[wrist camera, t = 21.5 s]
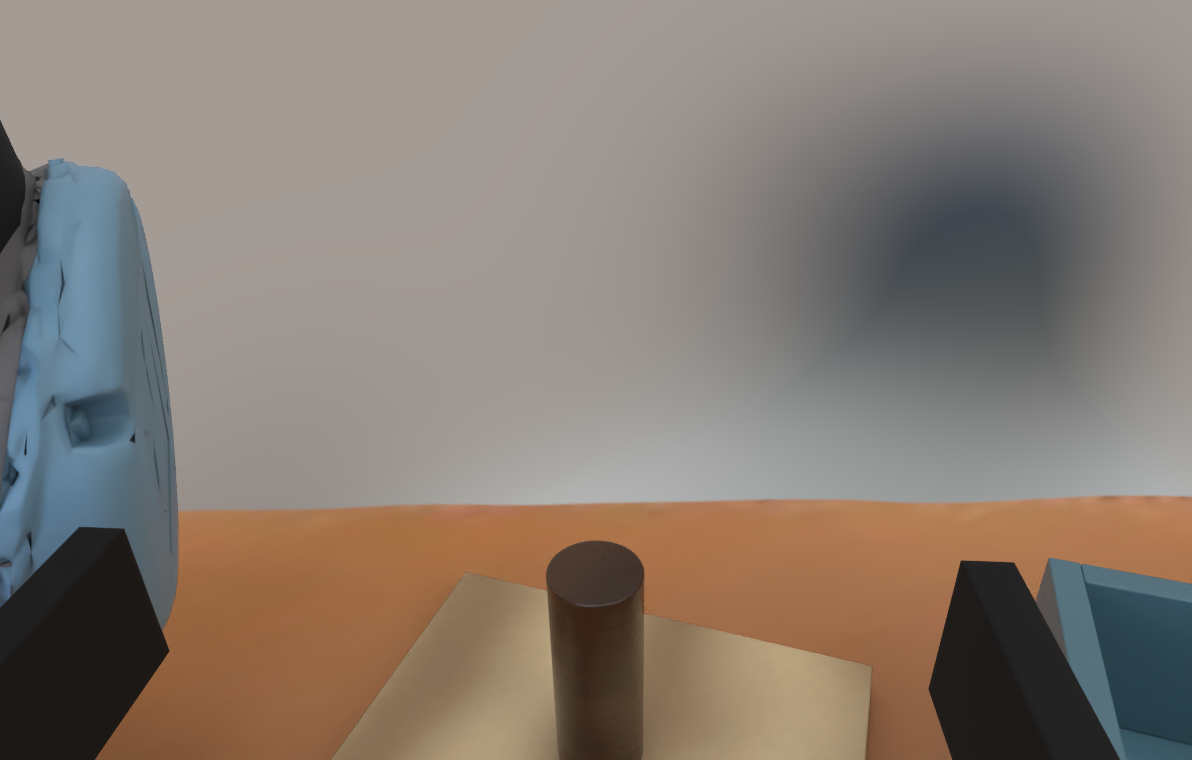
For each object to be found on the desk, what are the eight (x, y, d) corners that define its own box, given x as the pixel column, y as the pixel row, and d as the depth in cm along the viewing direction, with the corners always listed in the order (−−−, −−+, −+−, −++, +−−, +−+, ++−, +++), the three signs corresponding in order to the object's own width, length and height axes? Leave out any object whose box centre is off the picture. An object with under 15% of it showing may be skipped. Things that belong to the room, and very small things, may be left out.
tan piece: (274, 871, 27) (203, 665, 22) (468, 591, 38) (446, 418, 34) (837, 1088, 21) (888, 873, 17) (868, 687, 33) (904, 497, 28)
